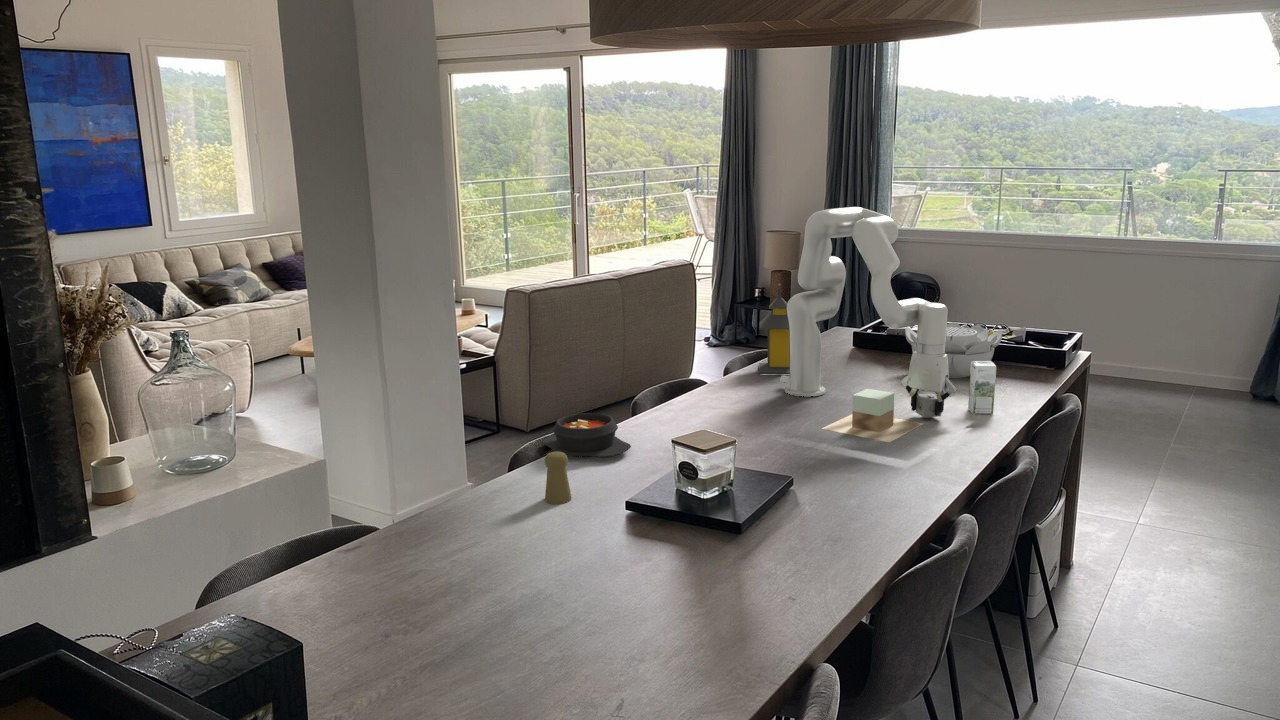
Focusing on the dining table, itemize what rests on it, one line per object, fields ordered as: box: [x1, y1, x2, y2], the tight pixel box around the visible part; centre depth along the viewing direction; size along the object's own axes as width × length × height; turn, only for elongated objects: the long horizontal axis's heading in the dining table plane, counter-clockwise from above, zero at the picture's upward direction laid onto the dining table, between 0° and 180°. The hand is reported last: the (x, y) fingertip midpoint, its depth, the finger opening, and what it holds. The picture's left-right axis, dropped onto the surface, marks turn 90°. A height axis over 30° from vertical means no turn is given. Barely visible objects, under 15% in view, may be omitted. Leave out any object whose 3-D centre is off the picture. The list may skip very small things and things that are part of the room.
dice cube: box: [915, 393, 942, 418], centre depth 259 cm, size 5×5×5 cm
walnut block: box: [851, 408, 895, 432], centre depth 254 cm, size 8×8×4 cm
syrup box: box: [967, 360, 997, 415], centre depth 267 cm, size 6×6×14 cm
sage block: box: [852, 388, 895, 416], centre depth 253 cm, size 8×8×4 cm
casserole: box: [541, 412, 632, 459], centre depth 245 cm, size 25×19×8 cm
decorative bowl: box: [904, 321, 1003, 379], centre depth 309 cm, size 30×30×15 cm
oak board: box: [821, 413, 925, 443], centre depth 254 cm, size 20×20×2 cm
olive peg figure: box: [544, 451, 572, 505], centre depth 212 cm, size 6×6×11 cm
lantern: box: [758, 283, 790, 375], centre depth 321 cm, size 14×14×30 cm
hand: (926, 411), depth 259 cm, fingers closed on dice cube, 6 cm apart
